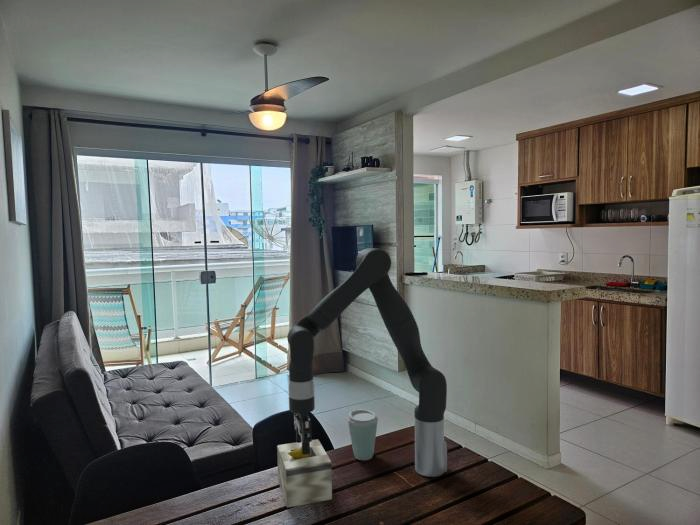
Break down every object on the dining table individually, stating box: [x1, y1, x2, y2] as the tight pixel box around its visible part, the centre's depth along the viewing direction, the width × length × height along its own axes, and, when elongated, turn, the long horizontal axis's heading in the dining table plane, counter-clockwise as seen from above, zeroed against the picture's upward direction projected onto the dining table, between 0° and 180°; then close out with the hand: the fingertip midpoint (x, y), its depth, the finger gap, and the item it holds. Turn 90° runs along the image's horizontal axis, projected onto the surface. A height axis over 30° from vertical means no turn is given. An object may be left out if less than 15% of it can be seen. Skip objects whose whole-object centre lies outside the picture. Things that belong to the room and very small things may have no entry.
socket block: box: [276, 439, 333, 508], centre depth 140 cm, size 13×17×11 cm
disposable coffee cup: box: [346, 408, 379, 461], centre depth 160 cm, size 11×11×15 cm
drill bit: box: [287, 447, 314, 459], centre depth 139 cm, size 5×5×10 cm
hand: (302, 447), depth 140 cm, fingers open, 8 cm apart
